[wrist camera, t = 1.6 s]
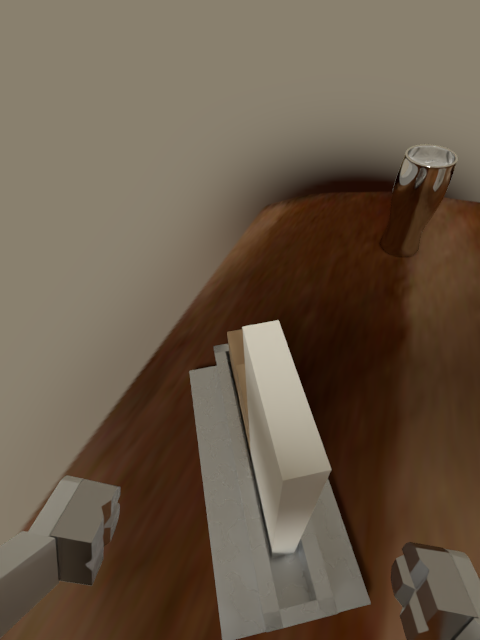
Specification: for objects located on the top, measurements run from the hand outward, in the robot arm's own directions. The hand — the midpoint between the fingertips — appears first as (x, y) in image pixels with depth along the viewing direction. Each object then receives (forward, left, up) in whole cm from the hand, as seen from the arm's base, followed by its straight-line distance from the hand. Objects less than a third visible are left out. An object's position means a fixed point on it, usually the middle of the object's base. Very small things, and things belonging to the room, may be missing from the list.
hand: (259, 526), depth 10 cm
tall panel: (-4, -5, -25) cm, 26 cm away
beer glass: (-40, -32, -27) cm, 58 cm away
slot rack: (-4, -9, -27) cm, 29 cm away
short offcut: (-6, -18, -25) cm, 31 cm away
